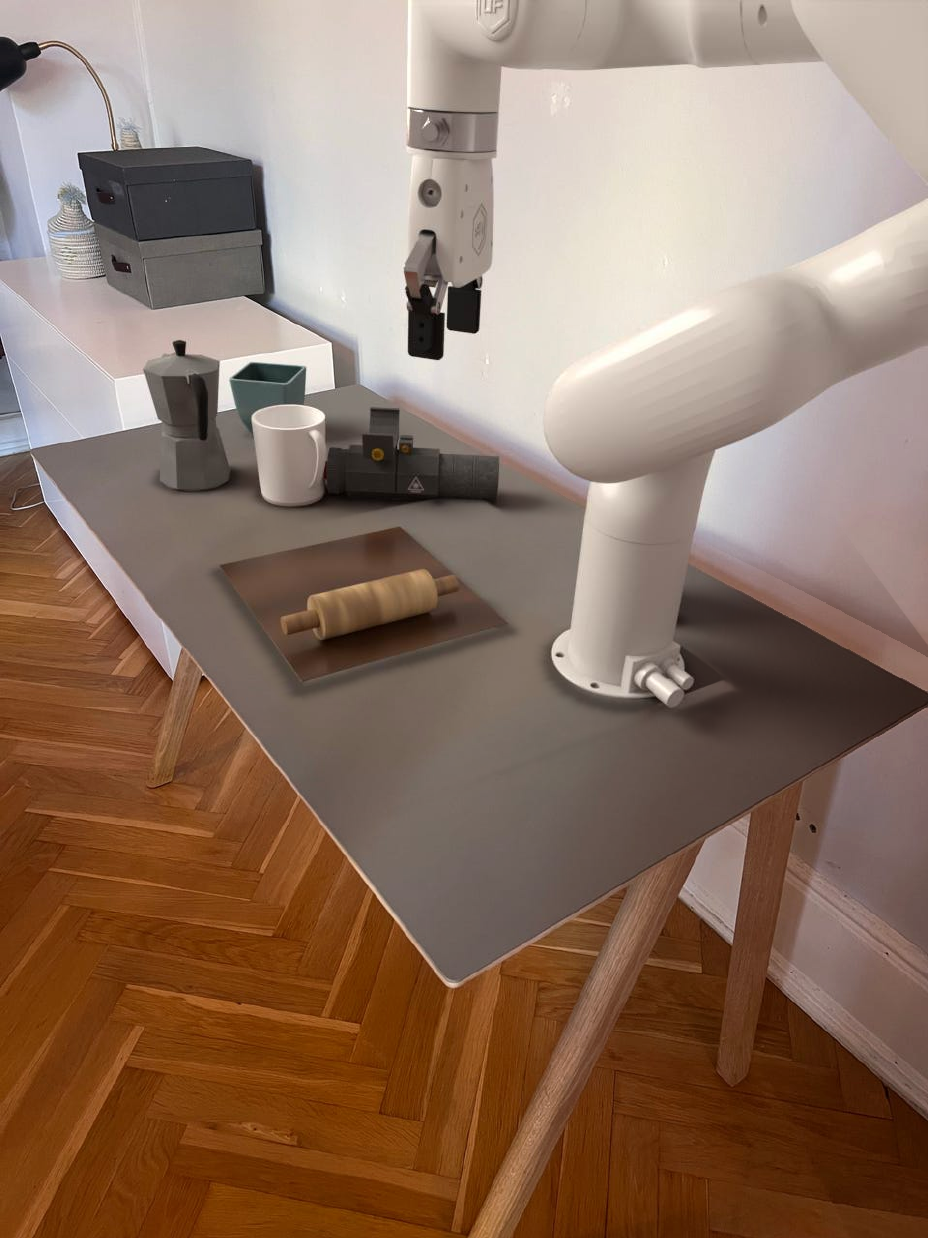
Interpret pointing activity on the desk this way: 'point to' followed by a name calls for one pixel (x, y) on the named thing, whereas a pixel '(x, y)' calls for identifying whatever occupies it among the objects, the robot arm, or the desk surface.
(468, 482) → the laser sight
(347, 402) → the desk surface
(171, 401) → the coffeepot
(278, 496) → the mug
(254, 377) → the flower pot
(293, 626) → the rolling pin
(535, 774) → the desk surface
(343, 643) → the pastry board
